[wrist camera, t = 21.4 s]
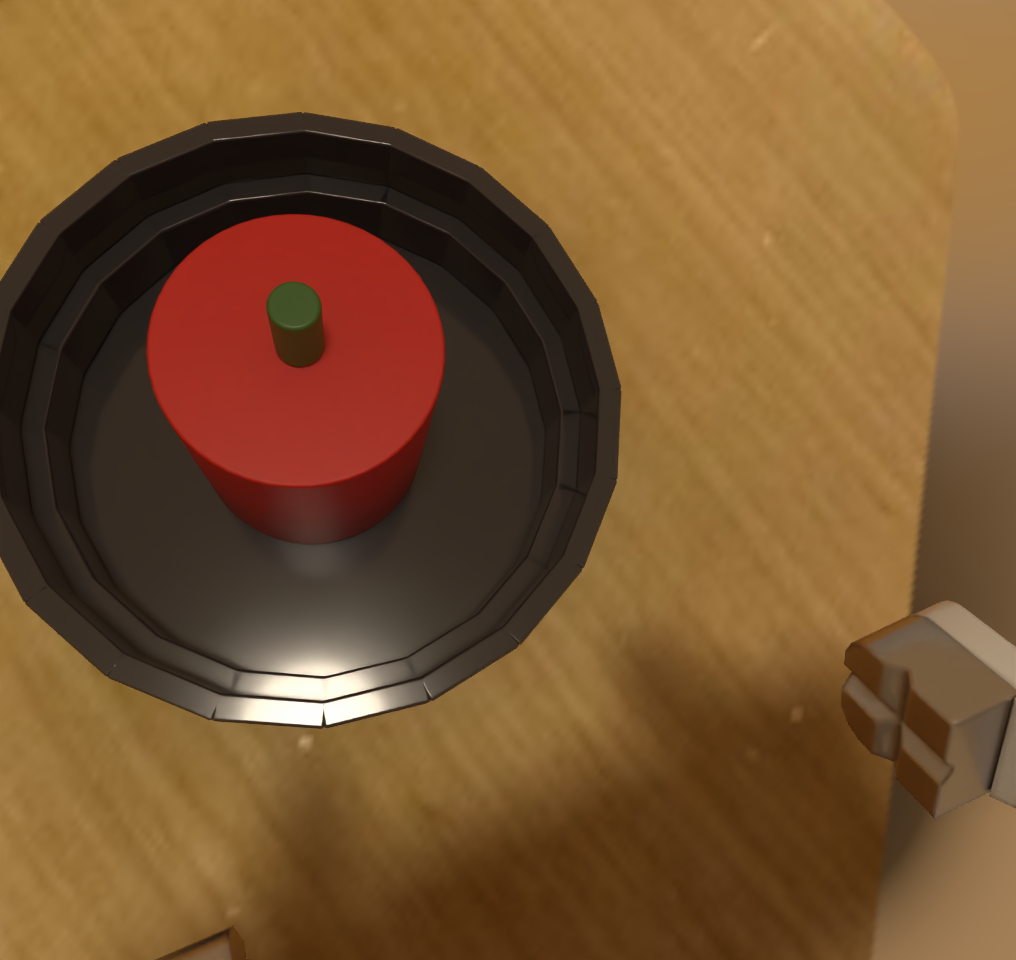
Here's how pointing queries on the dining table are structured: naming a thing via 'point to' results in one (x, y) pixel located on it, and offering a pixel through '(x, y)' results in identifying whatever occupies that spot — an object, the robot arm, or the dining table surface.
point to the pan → (195, 504)
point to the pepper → (299, 372)
